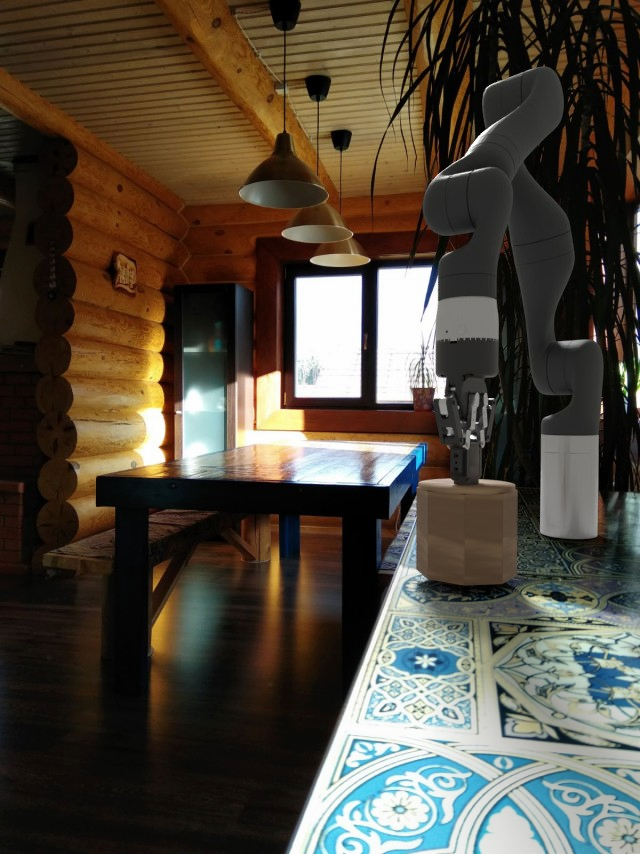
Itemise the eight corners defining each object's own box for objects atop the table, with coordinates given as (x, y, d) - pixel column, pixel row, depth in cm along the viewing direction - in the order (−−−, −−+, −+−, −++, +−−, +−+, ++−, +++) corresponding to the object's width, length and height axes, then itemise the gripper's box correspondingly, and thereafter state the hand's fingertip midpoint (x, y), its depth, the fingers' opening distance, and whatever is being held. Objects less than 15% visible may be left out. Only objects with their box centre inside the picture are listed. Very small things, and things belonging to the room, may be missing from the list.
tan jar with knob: (443, 557, 88) (444, 439, 88) (528, 569, 81) (529, 442, 81) (401, 574, 79) (401, 443, 78) (492, 590, 72) (493, 447, 71)
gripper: (462, 344, 87) (461, 472, 88) (411, 335, 76) (411, 482, 76) (517, 341, 83) (516, 476, 83) (471, 330, 71) (471, 487, 72)
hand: (466, 478), depth 80 cm, fingers closed on tan jar with knob, 3 cm apart
